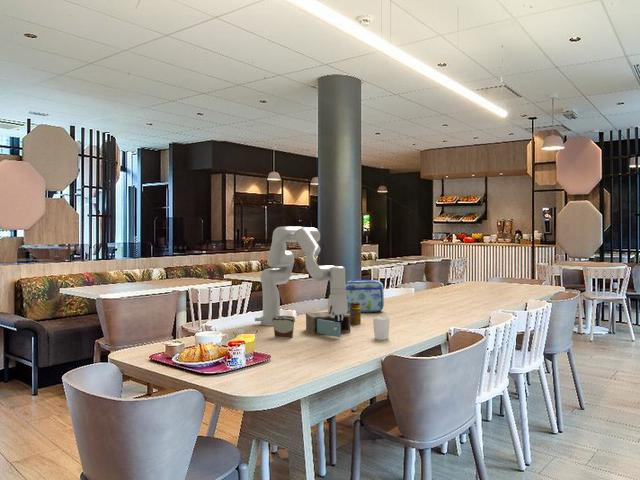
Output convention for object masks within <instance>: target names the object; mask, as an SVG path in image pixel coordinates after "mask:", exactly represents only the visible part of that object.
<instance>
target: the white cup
mask: <svg viewBox="0 0 640 480" xmlns="http://www.w3.org/2000/svg"><path fill="white" fill-rule="evenodd" d="M372 319H373V321H372V323H373V333H374V336H373V337H374V339H375V340H378V341H380V340H381V341H386V340H388V339H389V334H390V317H387V316H375V317H373V318H372Z"/></svg>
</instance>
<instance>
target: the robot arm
mask: <svg viewBox="0 0 640 480" xmlns="http://www.w3.org/2000/svg"><path fill="white" fill-rule="evenodd" d="M271 240H272V241H271V246H270V247H269V253H268V256H267V265H268V266H269V267H270V268H265V269H264V270H262V272H261V273H260V282H261V288H262V315H261V317H254V322H260V325H261V326H265V327H267V326H273V321H272V318H273V317H274V316H281V313H280V311H281V309H280V307H281V305H280V303H281V301H280V299H281V298H280V290H279V289H278V287H277V285H285V284H287V283H288V282H289V281H290V279H291V276H292V275H291V274H292V272H293V268H294V264H295V255H294V253H293V252H292V251H291V250H287V245H288V244H287V243H297V244H298V246H299V247H300V248H301V250H302V251H303V252H302V253H304V254H305V261H304V262H305V269H306V270H307V272H308V274H309V275H310V277H311V278H312V279H313V281H316V282H323V281H324V282H325V281H327V282H328V281H329V283H330V284H329V286H330V288H329V289H330V294H329V296H328V303H327V304H328V305H327V306H328V307H327V312H328V314H331V315H330V317H331V318H334V320H335V322H339V323H340V327H341V329H342V320H343V317H344V316H346V315H347V314H348V312H347V311H348V303H347V296H346V288H345V287H346V285H345V283H346V268H345V266H342V265H341V266H339V265H331V264H330V265H319V264H318V263H317V261H316V260H315V258H316V257H317V256H318V255H319V254H320V252H321V246H320V245H319V241H320V240H321V233H320V231H319V230H318V228H316V227H309V226H307V227H306V226H277V227H276V228H275V229H274V230H273V232H272V238H271ZM273 327H274V326H273Z"/></svg>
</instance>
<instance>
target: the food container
mask: <svg viewBox="0 0 640 480" xmlns="http://www.w3.org/2000/svg"><path fill="white" fill-rule="evenodd" d="M272 321H273V332H274V333H273V334H274V337H275V338H282V339H283V338H284V339H293V338H294V326H295V323H296V318H295V316H292V315H280V316H274V317H273V318H272Z"/></svg>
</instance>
